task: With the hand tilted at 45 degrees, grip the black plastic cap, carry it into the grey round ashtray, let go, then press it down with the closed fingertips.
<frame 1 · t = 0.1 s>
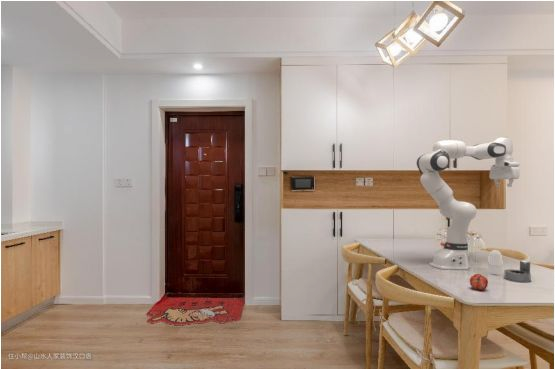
hand: (503, 186, 222), 48 cm above the table, tool pointing down, fingers open, 8 cm apart
pomegranate: (478, 289, 170), on the table
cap: (524, 276, 195), on the table
grey round ashtray: (517, 279, 188), on the table
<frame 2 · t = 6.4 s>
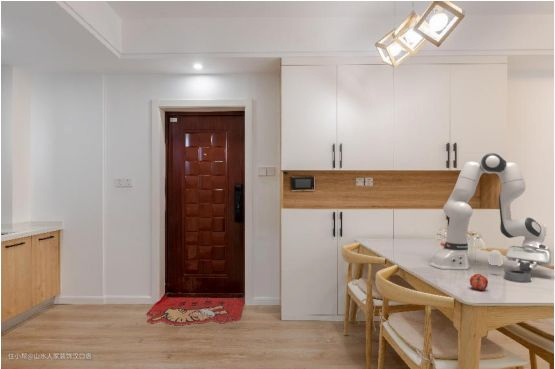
hand: (524, 268, 194), 4 cm above the table, tool tilted 45°, fingers closed on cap, 4 cm apart
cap: (524, 276, 195), on the table, touching gripper
everything else where it was.
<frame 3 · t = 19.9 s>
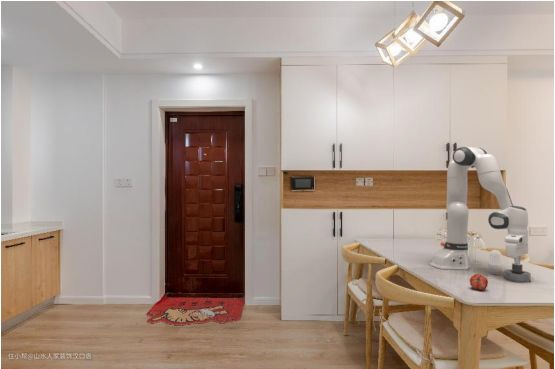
hand: (517, 264, 188), 8 cm above the table, tool pointing down, fingers closed, pressing on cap
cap: (516, 279, 188), resting in grey round ashtray, touching gripper
everything else where it was.
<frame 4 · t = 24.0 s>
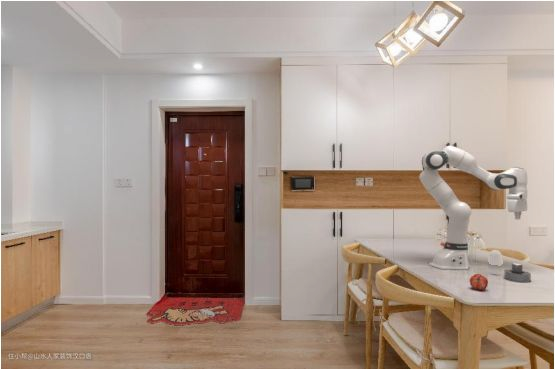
hand: (517, 219, 210), 29 cm above the table, tool pointing down, fingers closed
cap: (516, 279, 188), resting in grey round ashtray
everything else where it was.
at the end: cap 0.1 cm from the grey round ashtray (horizontally); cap resting in grey round ashtray; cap tilted 0° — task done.
